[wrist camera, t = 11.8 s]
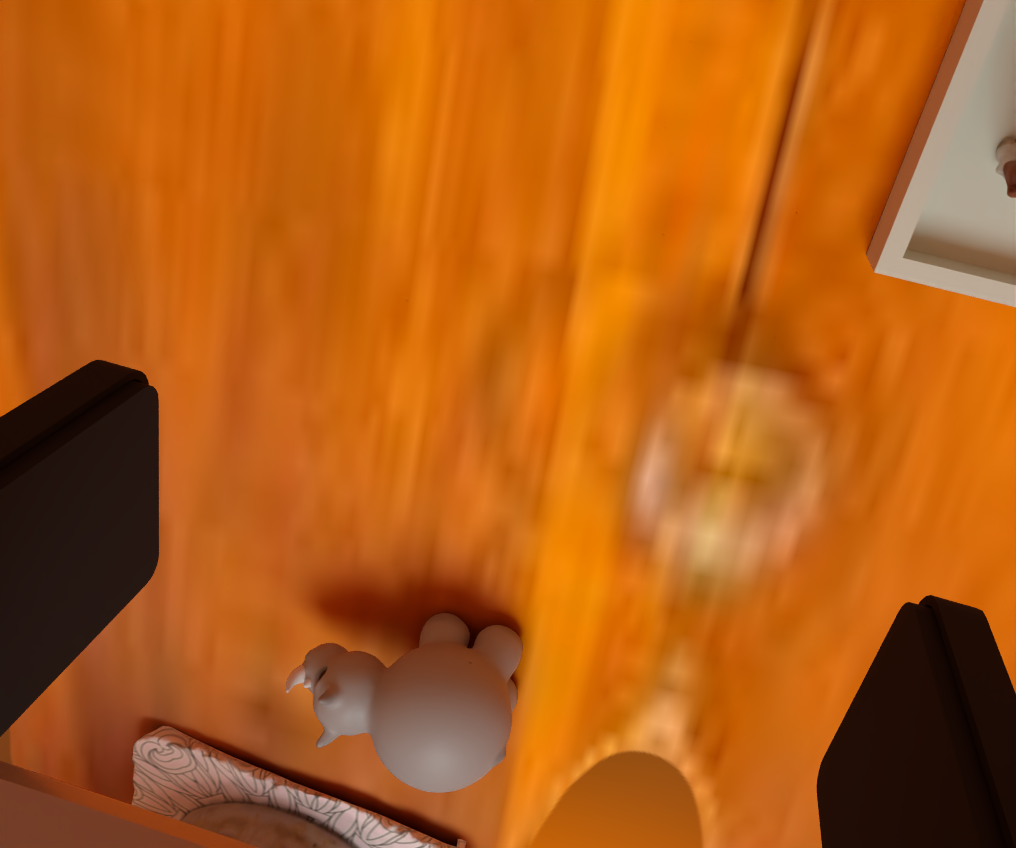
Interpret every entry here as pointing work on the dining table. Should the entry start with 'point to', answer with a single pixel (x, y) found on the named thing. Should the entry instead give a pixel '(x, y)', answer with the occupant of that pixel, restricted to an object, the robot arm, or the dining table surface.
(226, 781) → the cookie jar
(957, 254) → the tray
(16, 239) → the dining table surface
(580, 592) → the dining table surface
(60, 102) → the dining table surface
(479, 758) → the chubby cartoon animal
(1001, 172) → the bull figurine
